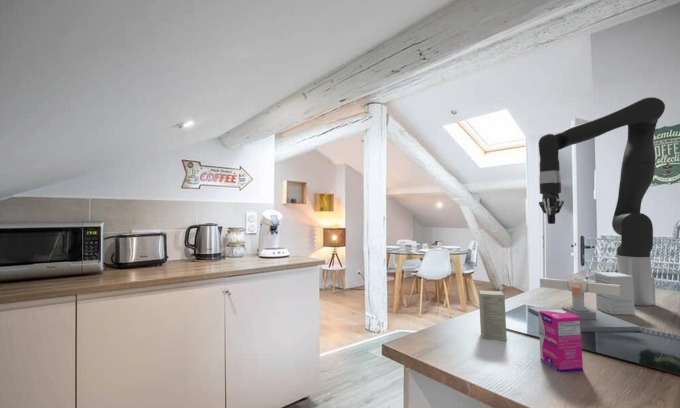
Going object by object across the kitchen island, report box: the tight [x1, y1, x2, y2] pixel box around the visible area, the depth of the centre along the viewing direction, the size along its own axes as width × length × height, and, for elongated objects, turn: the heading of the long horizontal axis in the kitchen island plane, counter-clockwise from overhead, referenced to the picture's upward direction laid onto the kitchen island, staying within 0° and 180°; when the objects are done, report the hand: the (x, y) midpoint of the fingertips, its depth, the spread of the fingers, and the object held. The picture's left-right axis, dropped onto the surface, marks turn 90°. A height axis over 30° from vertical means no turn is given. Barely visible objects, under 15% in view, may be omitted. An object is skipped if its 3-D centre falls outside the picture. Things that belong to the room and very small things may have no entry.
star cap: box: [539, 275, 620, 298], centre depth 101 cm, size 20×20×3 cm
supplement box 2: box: [594, 271, 636, 316], centre depth 109 cm, size 7×7×13 cm
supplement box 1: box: [538, 309, 584, 373], centre depth 71 cm, size 6×6×12 cm
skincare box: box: [478, 289, 508, 341], centre depth 88 cm, size 6×4×12 cm
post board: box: [527, 293, 642, 333], centre depth 101 cm, size 20×20×9 cm
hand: (551, 223), depth 135 cm, fingers closed
